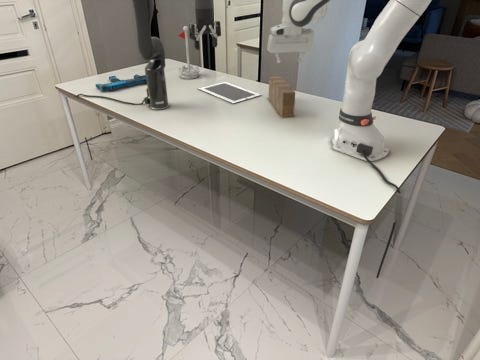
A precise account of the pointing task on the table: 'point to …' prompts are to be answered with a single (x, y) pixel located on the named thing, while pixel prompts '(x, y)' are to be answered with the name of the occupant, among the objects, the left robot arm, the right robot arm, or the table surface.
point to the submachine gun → (121, 82)
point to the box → (281, 96)
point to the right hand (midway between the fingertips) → (289, 62)
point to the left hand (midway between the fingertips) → (206, 48)
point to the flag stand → (186, 71)
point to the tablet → (229, 92)
